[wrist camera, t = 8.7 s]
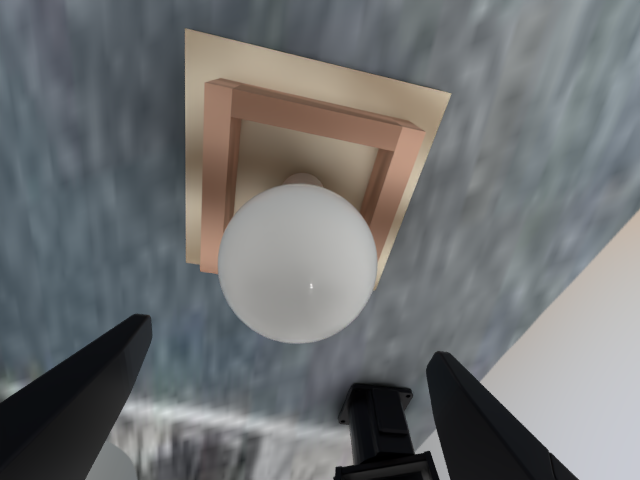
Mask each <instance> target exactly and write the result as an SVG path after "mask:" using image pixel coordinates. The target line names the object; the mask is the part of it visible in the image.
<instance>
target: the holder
mask: <svg viewBox="0 0 640 480" xmlns="http://www.w3.org/2000/svg"><path fill="white" fill-rule="evenodd" d="M450 96H451V93H447V92H444V91H440V90H436V89H431V88H427V87H423V86H419V85H415V84H411V83H407V82H403V81H399V80H395V79H391V78H387V77H382V76H378V75H374V74H370V73H366V72H362V71H358V70H354V69H350V68H346V67H342V66H338V65H333V64H329V63H325V62H321V61H317V60H313V59H309V58H305V57H301V56H297V55H293V54H289V53H285V52H280V51H276V50H272V49H268V48H264V47H260V46H256V45H252V44H248V43H244V42H240V41H236V40H231V39H227V38H223V37H219V36H215V35H211V34H207V33H203V32H199V31H195V30H190V29H186V28H185V154H186V263H193V264H200V271H201V272H208V273H215V274H218V252H219V246H220V242H221V239H222V236H223V233H224V231H225V229H226V227H227V225H228V223H229V222H230V220H231V219H232V217H233V216H234V215H235V213H236V212H237V211H238V210H239V209H240V208H241V207H242V206H243V205H244V204H245V203H246V202H247V201H249V200H250V199H251V198H253V197H254V196H256V195H257V194H259V193H261V192H263V191H265V190H267V189H270V188H273V187H276V186H280V185H282V184H283V183H284V181H285V180H286V179H287V178H288V177H290V176H291V175H293V174H297V173H308V174H311V175H313V176H315V177H316V178H317V179H318V180H319V181H320V182H321V183H322V185H323V187H324V188H326V189H329V190H331V191H333V192H335V193H337V194H339V195H340V196H342V197H343V198H345V199H346V200H347V201H349V202H350V203H351V204H352V205H353V206H354V207H355V208H356V209H357V210H358V211H359V213H360V214H361V215H362V216H363V218H364V219H365V221H366V223H367V224H368V226H369V228H370V230H371V233H372V235H373V238H374V241H375V245H376V250H377V260H378V266H377V276H376V281H375V285H374V288H373V290H376V288H377V285H378V282H379V280H380V277H381V275H382V272H383V269H384V267H385V264H386V262H387V259H388V257H389V254H390V251H391V249H392V246H393V244H394V241H395V238H396V236H397V233H398V231H399V228H400V225H401V223H402V220H403V218H404V215H405V213H406V210H407V207H408V205H409V202H410V200H411V197H412V194H413V192H414V189H415V187H416V184H417V182H418V179H419V176H420V174H421V171H422V169H423V166H424V163H425V161H426V158H427V156H428V153H429V151H430V148H431V145H432V143H433V140H434V138H435V135H436V132H437V130H438V127H439V125H440V122H441V119H442V117H443V114H444V112H445V109H446V107H447V104H448V101H449V99H450Z"/></svg>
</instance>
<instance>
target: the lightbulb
mask: <svg viewBox="0 0 640 480" xmlns="http://www.w3.org/2000/svg"><path fill="white" fill-rule="evenodd" d="M377 266H378V260H377V250H376V245H375V241H374V238H373V235H372V233H371V230H370V228H369V226H368V224H367V223H366V221H365V219H364V218H363V216H362V215H361V214H360V213H359V211H358V210H357V209H356V208H355V207H354V206H353V205H352V204H351V203H350V202H349V201H347V200H346V199H345V198H343V197H342V196H340V195H339V194H337V193H335V192H333V191H331V190H329V189H326V188H324V187H323V185H322V183H321V182H320V181H319V180H318V179H317V178H316V177H315V176H313V175H311V174H308V173H297V174H293V175H291V176H290V177H288V178H287V179H286V180H285V181H284V183H283V184H282V185H280V186H276V187H273V188H270V189H267V190H265V191H263V192H261V193H259V194H257V195H256V196H254V197H253V198H251V199H250V200H249V201H247V202H246V203H245V204H244V205H243V206H242V207H241V208H240V209H239V210H238V211H237V212H236V213H235V215H234V216H233V217H232V219H231V220H230V222H229V223H228V225H227V227H226V229H225V231H224V233H223V236H222V239H221V242H220V246H219V252H218V276H219V281H220V286H221V289H222V292H223V294H224V297H225V299H226V301H227V303H228V304H229V306H230V308H231V309H232V311H233V312H234V313H235V315H236V316H237V317H238V318H239V319H240V320H241V321H242V322H243V323H244V324H245V325H246V326H248V327H249V328H250V329H252V330H253V331H255V332H256V333H258V334H260V335H262V336H264V337H266V338H269V339H272V340H275V341H279V342H283V343H292V344H302V343H311V342H316V341H320V340H323V339H326V338H328V337H330V336H332V335H334V334H336V333H338V332H340V331H341V330H343V329H344V328H346V327H347V326H348V325H349V324H350V323H352V322H353V321H354V320H355V319H356V318H357V316H358V315H359V314H360V313H361V312H362V310H363V309H364V307H365V306H366V304H367V302H368V300H369V298H370V296H371V294H372V291H373V288H374V285H375V281H376V276H377Z"/></svg>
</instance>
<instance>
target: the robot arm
mask: <svg viewBox="0 0 640 480" xmlns="http://www.w3.org/2000/svg"><path fill="white" fill-rule="evenodd" d="M151 340H152V323H151V317H150V316H149V315H145V314H134V315H132V316H130V317H129V318H127V319H126V320H124V321H123V322H121V323H120V324H118V325H117V326H115V327H114V328H112V329H111V330H109V331H108V332H106V333H105V334H103V335H102V336H100V337H99V338H97V339H96V340H94V341H93V342H91V343H90V344H88V345H87V346H85V347H84V348H82V349H81V350H79V351H78V352H76V353H75V354H73V355H72V356H70V357H69V358H67V359H66V360H64V361H63V362H61V363H60V364H58V365H57V366H55V367H54V368H52V369H51V370H49V371H48V372H46V373H45V374H43V375H42V376H40V377H39V378H37V379H36V380H34V381H33V382H31V383H30V384H28V385H27V386H25V387H24V388H22V389H21V390H19V391H18V392H16V393H15V394H13V395H12V396H10V397H9V398H7V399H6V400H4V401H3V402H1V403H0V480H85V479H86V477H87V475H88V473H89V471H90V469H91V467H92V465H93V463H94V462H95V460H96V458H97V456H98V454H99V452H100V450H101V448H102V446H103V444H104V443H105V441H106V439H107V437H108V435H109V433H110V431H111V429H112V428H113V426H114V424H115V422H116V420H117V418H118V416H119V414H120V412H121V410H122V409H123V407H124V405H125V403H126V401H127V399H128V397H129V395H130V393H131V391H132V388H133V386H134V383H135V381H136V378H137V376H138V373H139V371H140V368H141V366H142V363H143V361H144V358H145V356H146V353H147V351H148V348H149V346H150V343H151ZM426 376H427V381H428V387H429V393H430V399H431V405H432V411H433V416H434V421H435V425H436V429H437V432H438V436H439V440H440V443H441V447H442V451H443V454H444V458H445V462H446V465H447V469H448V473H449V476H450V480H579V479H578V478H576V477H575V476H574V475H573V474H572V473H571V472H570V471H569V470H568V469H567V468H566V467H565V466H564V465H563V464H562V463H561V462H560V461H559V460H558V459H557V458H556V457H555V456H554V455H553V454H552V453H549V451H548V449H547V448H546V447H545V446H543V445H542V443H541V442H540V441H538V440H537V438H536V437H534V435H532V434H531V433H530V432H529V431H528V430H527V429H526V428H525V427H524V426H523V425H522V424H521V423H520V422H519V421H518V420H517V419H516V418H515V417H514V416H513V415H512V414H511V413H510V412H509V411H508V410H507V409H506V408H505V407H504V406H503V405H502V404H501V403H500V402H499V401H498V400H497V399H496V398H495V397H494V396H493V395H492V394H491V393H490V392H489V391H488V390H487V389H486V388H485V387H484V386H483V385H482V384H481V383H480V382H479V381H478V380H477V379H476V378H475V377H474V376H473V375H472V374H471V373H470V372H469V371H468V370H467V369H466V368H465V367H464V366H463V365H462V364H461V363H460V362H458V361H457V360H456V359H455V358H454V357H453V356H452V355H451V354H450V353H448V352H443V351H437V352H435V353H434V355H433V357H432V359H431V360H430V362H429V364H428V366H427V368H426ZM412 397H413V394H412V391H411V390H407V389H398V388H388V387H379V386H369V385H360V384H355V385H352V386H351V389H350V391H349V393H348V396H347V398H346V400H345V403H344V405H343V408H342V410H341V412H340V415H339V417H338V422H339V423H340V424H346V425H349V427H350V436H351V445H352V454H353V463H354V465H352V466H346V467H342V466H339V467H336V473H335V477H333V479H334V480H439V477H438V474H437V471H436V468H435V465H434V462H433V459H432V456H431V452H430V451H426V452H424V453H421V454H415V452H414V449H413V445H412V441H411V437H410V434H409V429H408V425H407V421H406V417H405V414H404V411H405V409H406V407H407V405H408V404H409V402H410V400H411V399H412Z"/></svg>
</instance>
